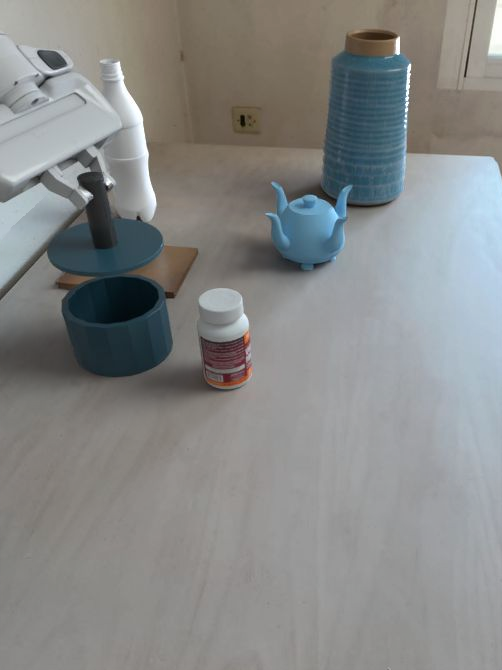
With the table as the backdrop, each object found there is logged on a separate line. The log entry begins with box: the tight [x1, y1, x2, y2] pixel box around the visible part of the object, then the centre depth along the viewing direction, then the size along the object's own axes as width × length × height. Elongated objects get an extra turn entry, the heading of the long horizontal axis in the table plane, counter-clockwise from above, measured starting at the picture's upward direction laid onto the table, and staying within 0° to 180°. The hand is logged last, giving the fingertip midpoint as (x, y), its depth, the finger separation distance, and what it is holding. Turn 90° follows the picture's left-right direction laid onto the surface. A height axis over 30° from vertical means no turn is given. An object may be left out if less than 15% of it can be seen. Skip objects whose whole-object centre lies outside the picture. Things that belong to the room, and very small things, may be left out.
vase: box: [320, 28, 412, 207], centre depth 115 cm, size 16×16×27 cm
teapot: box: [264, 181, 353, 271], centre depth 100 cm, size 13×13×10 cm
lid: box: [46, 171, 165, 277], centre depth 72 cm, size 13×13×9 cm
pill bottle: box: [196, 287, 253, 390], centre depth 76 cm, size 6×6×11 cm
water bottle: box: [99, 58, 157, 223], centre depth 104 cm, size 7×7×25 cm
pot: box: [60, 274, 174, 378], centre depth 82 cm, size 13×13×8 cm
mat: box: [56, 244, 200, 299], centre depth 99 cm, size 18×14×1 cm
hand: (99, 197), depth 71 cm, fingers closed on lid, 3 cm apart
